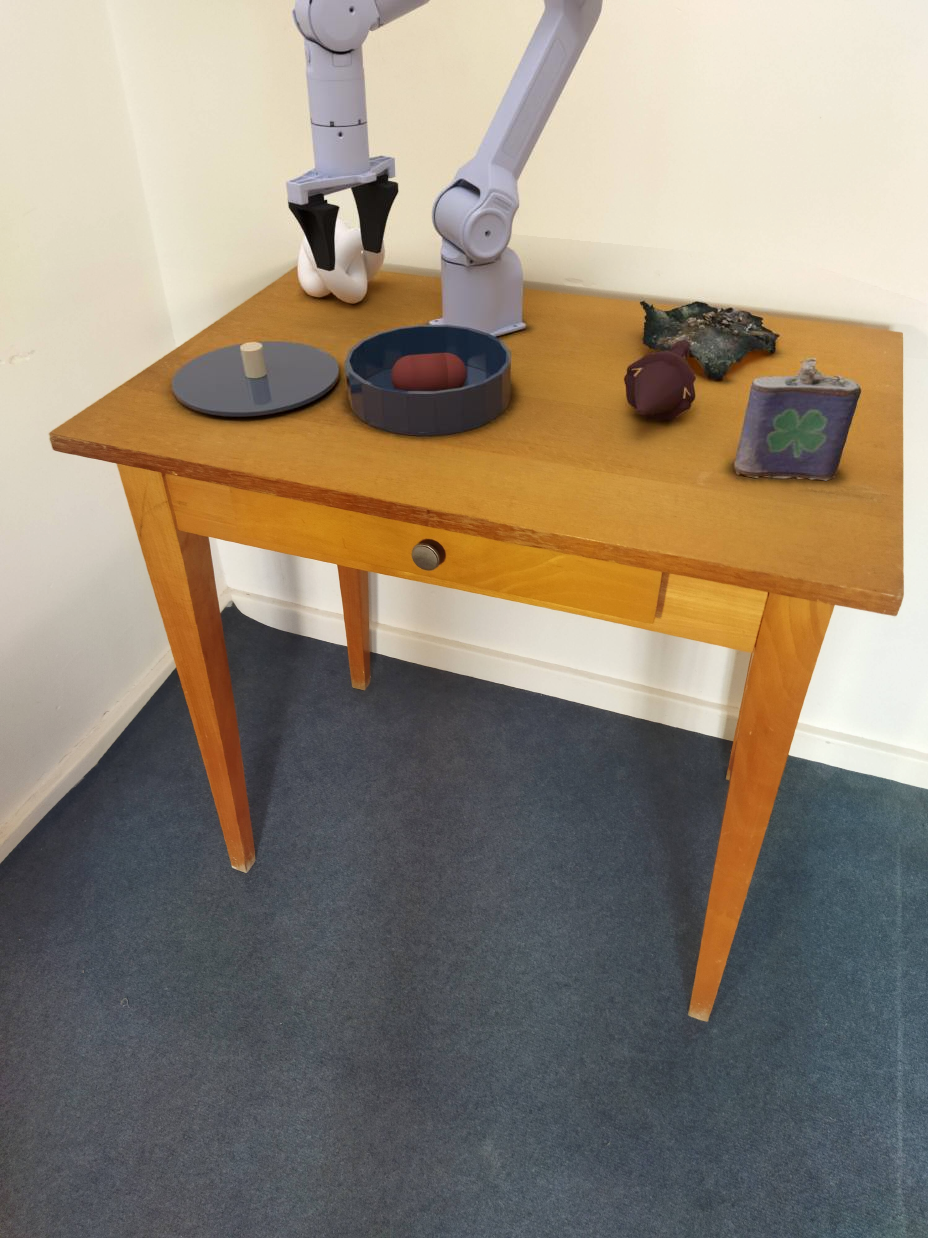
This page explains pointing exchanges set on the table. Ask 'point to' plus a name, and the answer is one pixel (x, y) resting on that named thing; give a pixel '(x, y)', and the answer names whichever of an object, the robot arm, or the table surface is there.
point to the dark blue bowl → (428, 409)
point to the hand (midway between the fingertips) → (349, 259)
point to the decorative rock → (708, 334)
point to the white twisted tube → (340, 266)
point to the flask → (796, 425)
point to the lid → (255, 378)
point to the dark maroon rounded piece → (661, 383)
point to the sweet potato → (429, 372)
